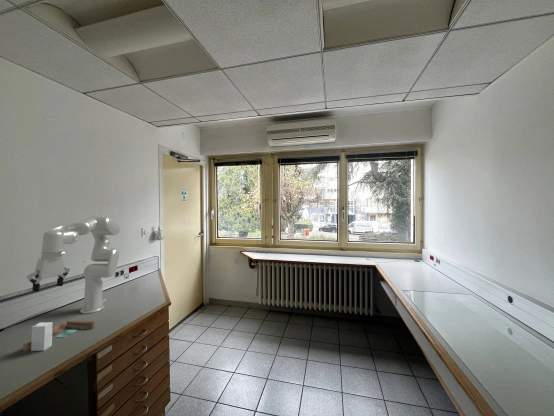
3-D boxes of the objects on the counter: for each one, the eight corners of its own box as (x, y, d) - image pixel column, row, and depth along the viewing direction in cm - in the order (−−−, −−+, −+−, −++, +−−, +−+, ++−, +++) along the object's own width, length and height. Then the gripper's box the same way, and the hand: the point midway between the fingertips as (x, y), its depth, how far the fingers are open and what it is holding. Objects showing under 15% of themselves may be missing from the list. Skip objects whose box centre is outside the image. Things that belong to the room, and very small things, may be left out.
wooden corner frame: (66, 326, 125) (67, 320, 125) (94, 327, 125) (94, 321, 125) (23, 350, 103) (23, 343, 103) (56, 351, 103) (57, 344, 103)
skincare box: (52, 345, 108) (54, 321, 108) (43, 351, 103) (45, 326, 104) (39, 345, 107) (40, 321, 107) (29, 351, 103) (31, 326, 103)
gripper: (65, 252, 120) (62, 283, 119) (23, 257, 103) (19, 293, 102) (76, 253, 118) (73, 284, 117) (35, 258, 101) (31, 294, 100)
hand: (48, 288), depth 110 cm, fingers open, 9 cm apart
